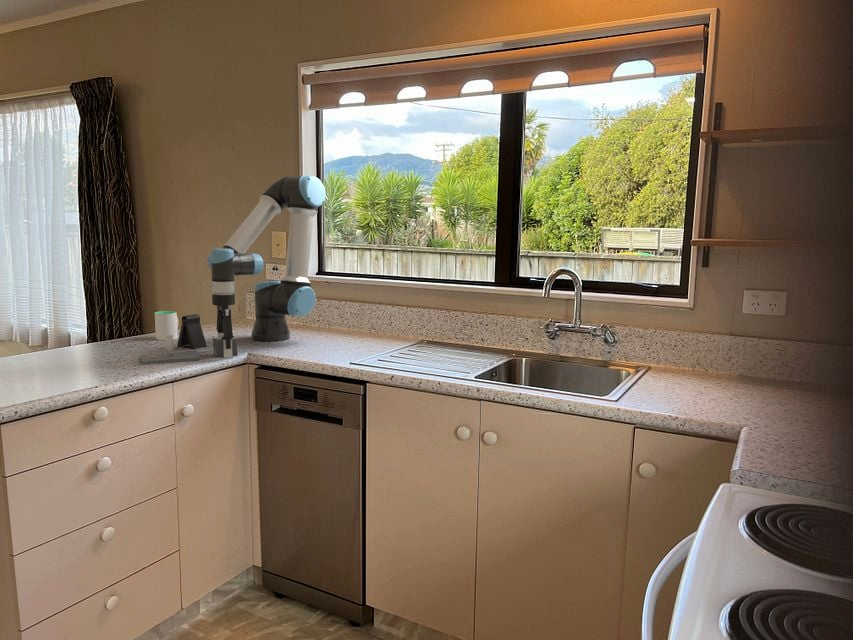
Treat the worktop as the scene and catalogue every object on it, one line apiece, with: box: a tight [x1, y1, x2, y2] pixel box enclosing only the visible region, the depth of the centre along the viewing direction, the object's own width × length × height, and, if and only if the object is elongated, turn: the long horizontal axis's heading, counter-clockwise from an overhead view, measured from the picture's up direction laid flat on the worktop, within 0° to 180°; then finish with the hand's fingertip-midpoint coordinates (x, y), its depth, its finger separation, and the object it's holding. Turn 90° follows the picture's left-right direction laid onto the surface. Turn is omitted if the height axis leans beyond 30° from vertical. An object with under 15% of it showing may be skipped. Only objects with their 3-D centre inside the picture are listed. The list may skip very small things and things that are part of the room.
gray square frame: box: [212, 335, 238, 358], centre depth 220 cm, size 7×7×6 cm
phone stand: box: [176, 313, 208, 351], centre depth 233 cm, size 9×6×12 cm, turn 63°
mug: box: [154, 310, 180, 341], centre depth 252 cm, size 12×8×10 cm, turn 175°
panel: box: [139, 335, 201, 365], centre depth 212 cm, size 18×12×8 cm, turn 116°
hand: (225, 354), depth 221 cm, fingers open, 12 cm apart
